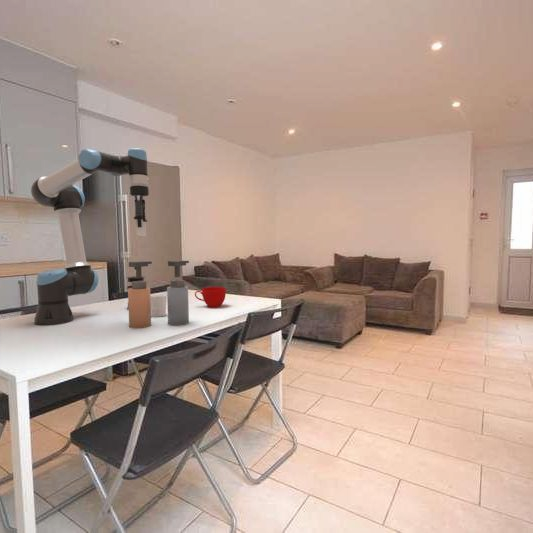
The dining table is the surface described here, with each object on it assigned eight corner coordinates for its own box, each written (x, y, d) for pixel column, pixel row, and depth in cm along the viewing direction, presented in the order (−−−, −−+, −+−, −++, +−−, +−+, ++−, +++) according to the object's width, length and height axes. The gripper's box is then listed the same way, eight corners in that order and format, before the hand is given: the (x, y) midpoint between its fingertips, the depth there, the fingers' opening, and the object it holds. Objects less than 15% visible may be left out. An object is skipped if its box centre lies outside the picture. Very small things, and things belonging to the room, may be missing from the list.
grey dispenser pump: (135, 279, 149) (135, 262, 148) (129, 278, 151) (128, 262, 151) (154, 277, 157) (154, 261, 156) (147, 276, 159) (147, 260, 159)
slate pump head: (175, 277, 153) (175, 261, 152) (168, 277, 155) (167, 261, 155) (191, 275, 161) (191, 260, 161) (184, 275, 163) (184, 260, 163)
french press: (122, 308, 191) (121, 266, 189) (136, 306, 199) (135, 264, 198) (138, 310, 186) (137, 266, 184) (151, 307, 194) (150, 265, 192)
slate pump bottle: (177, 326, 152) (176, 282, 151) (163, 323, 157) (162, 280, 156) (193, 322, 160) (192, 279, 158) (178, 319, 165) (178, 278, 163)
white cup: (148, 314, 176) (148, 294, 175) (165, 313, 180) (164, 293, 179) (151, 317, 169) (150, 296, 168) (168, 316, 173) (167, 295, 172)
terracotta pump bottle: (138, 328, 148) (136, 283, 147) (124, 326, 153) (123, 282, 151) (155, 324, 155) (154, 281, 154) (142, 322, 160) (141, 280, 159)
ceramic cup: (195, 305, 202) (194, 287, 201) (225, 303, 205) (225, 286, 204) (194, 309, 189) (194, 290, 188) (226, 308, 192) (226, 289, 192)
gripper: (146, 181, 142) (148, 234, 143) (150, 190, 166) (152, 236, 167) (125, 181, 140) (128, 235, 141) (133, 190, 164) (135, 237, 165)
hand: (141, 236), depth 154 cm, fingers open, 13 cm apart
